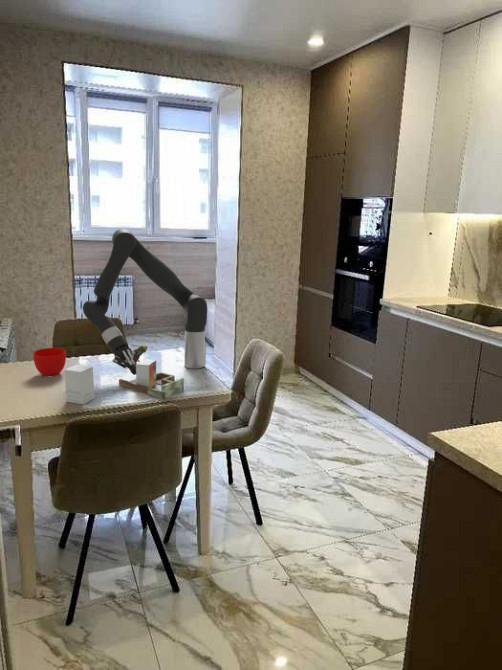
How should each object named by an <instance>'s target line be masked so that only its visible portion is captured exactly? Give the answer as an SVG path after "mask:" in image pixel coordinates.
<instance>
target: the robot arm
mask: <svg viewBox="0 0 502 670" xmlns="http://www.w3.org/2000/svg"><path fill="white" fill-rule="evenodd" d="M111 241H112V249H111V254H110V257H109V258H108V261H107V263H106V265H105V267H104V268H103V270H102V272H101V273H100V274H99V277H98V279H97V281H96V284H95V286H94V287H93V288H94V289H93V293H94V295H95V296H96V300H87V301H85V302H84V303H83V305H82V312H83V314H84V316H85V317H86V319H87V320H89V322H91V324H92V325H93V326H95V327H96V328H97V330H98V332H99V333H100V335H101V337H102V339H103V341H104V343H105V344H106V346H107V347H108V349H109V351H110V352H111V353H112V354H113V356H114V357H113V359H112V362H113V363H114V364H116V365H117V366H120V367H122V368H124V369H126V368H127V369H129V371H130V374H132V375H133V376H136V364H137V363H138V352H137V351H135V352H134V351H133V349H132V348H130V347H129V342H128V341H127V340H126V339H125V337H124V335H123V333H122V332H121V331H120V329H119V328H118V327H117V325H116V324H115V322H114V321H113V319H112V318H111V317H109V316H107V315H106V314H107V312H108V310H109V306H110V298H111V295H112V292H113V290H114V288H115V285H116V283H117V281H118V278H119V276H120V273H122V269H123V268H124V265H125V264H126V262H127V260H128V258H130V259H131V260H132V261H134V262H135V263H136V265H137V266H138V267H139V268H140V269H141V271H142V272H143V273H144V274H145V275H146V277H147V278H148V279H149V280H151V281H152V282H153V283H154V284H155V286H157V287H159V288H160V290H162V291H164V292H165V293H166V294H167V295H169V296H170V297H172V298H173V299H174V300H175V301H176V302H177V303H178V304H179V305H180V306H181V308H182V309H183V310H184V311H185V312H186V313H187V315H186V316H187V319H186V320H187V321H186V323H185V324H184V367H185V368H186V369H192V370H193V369H194V370H195V369H196V370H197V369H198V370H199V369H202V367H203V368H205V366H206V362H207V357H206V355H207V346H206V326H207V323H208V320H207V319H208V303H207V300H206V299H205V298H204V297H202V296H199V295H198V294H196V293H194V292H193V291H192V290H191V289H189V288H188V287H187V286H185V285H184V284H183V283H182V281H181V280H180V279H179V277H178V275H177V274H176V273H175V272H174V271H173V270H172V269H171V268H170V267H169V266H168V265H167V264H166V263H165V262H163V261H162V260H161V259H159V257H158V256H156V255H154V254H153V253H152V252H151V251H149V250H148V249H147V248H146V247H145V246H144V245H142V243H141V242H140V241H139V240H138V239H137V237H136V236H135V235H134V233H132V231H130V230H128V229H125V228H119V229H117V230H115V231H114V233H113V234H112V237H111Z"/></svg>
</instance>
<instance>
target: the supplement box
mask: <svg viewBox="0 0 502 670" xmlns="http://www.w3.org/2000/svg"><path fill="white" fill-rule="evenodd" d="M64 376H65V377H64V378H65V379H64V381H65V394H66V395H65V396H66V399H65V400H66V403H73V404H79V405H85V404H86V403H88V402H90V401H92V400H94V399H95V385H94V367H93V366H91V365H84V364H83V365H82V364H74V365H72V366H70V367H68V368H65V369H64Z"/></svg>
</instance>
